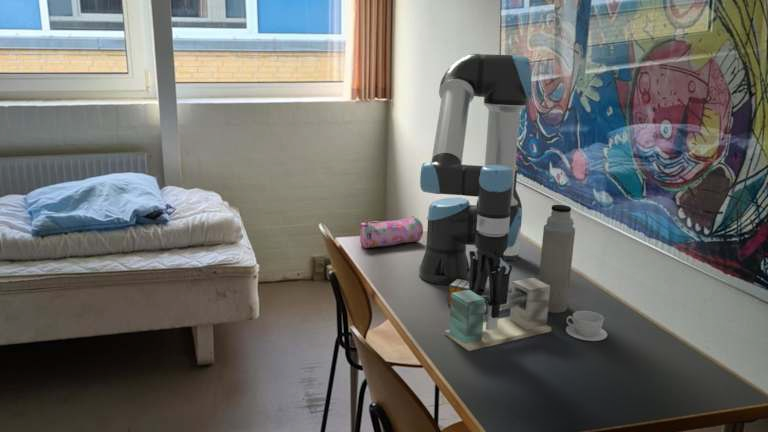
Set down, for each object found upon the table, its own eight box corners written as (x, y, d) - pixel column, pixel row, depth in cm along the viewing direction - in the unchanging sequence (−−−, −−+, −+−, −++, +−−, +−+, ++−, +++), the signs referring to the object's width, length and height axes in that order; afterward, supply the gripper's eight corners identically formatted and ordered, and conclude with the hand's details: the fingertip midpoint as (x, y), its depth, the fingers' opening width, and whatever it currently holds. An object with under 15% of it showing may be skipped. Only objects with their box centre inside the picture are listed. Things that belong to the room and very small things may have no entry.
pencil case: (367, 252, 235) (367, 225, 233) (355, 244, 243) (356, 218, 240) (424, 245, 244) (425, 219, 242) (411, 237, 252) (412, 212, 250)
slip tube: (515, 303, 181) (516, 287, 180) (526, 309, 177) (528, 293, 176) (457, 315, 173) (458, 298, 171) (468, 321, 169) (469, 304, 168)
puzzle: (455, 298, 199) (456, 278, 197) (475, 302, 196) (477, 282, 194) (447, 306, 193) (448, 284, 192) (468, 310, 191) (469, 289, 189)
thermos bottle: (566, 303, 198) (576, 203, 190) (567, 314, 190) (578, 211, 183) (536, 300, 199) (545, 201, 192) (536, 311, 192) (546, 208, 184)
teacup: (608, 329, 182) (610, 312, 181) (605, 345, 173) (608, 327, 172) (567, 322, 186) (569, 305, 184) (563, 338, 176) (565, 320, 175)
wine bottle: (489, 256, 234) (496, 165, 226) (500, 250, 241) (507, 162, 233) (512, 262, 230) (520, 169, 222) (523, 256, 236) (531, 165, 228)
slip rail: (524, 316, 188) (528, 275, 185) (550, 331, 180) (555, 288, 176) (444, 334, 176) (447, 290, 173) (468, 350, 167) (472, 305, 164)
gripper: (457, 224, 174) (451, 314, 180) (502, 244, 160) (495, 341, 166) (482, 221, 178) (476, 309, 184) (529, 240, 163) (520, 335, 169)
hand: (485, 324), depth 175 cm, fingers closed on slip tube, 4 cm apart
